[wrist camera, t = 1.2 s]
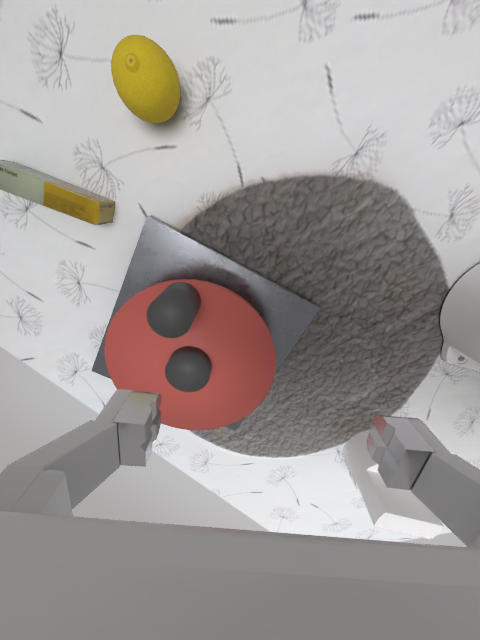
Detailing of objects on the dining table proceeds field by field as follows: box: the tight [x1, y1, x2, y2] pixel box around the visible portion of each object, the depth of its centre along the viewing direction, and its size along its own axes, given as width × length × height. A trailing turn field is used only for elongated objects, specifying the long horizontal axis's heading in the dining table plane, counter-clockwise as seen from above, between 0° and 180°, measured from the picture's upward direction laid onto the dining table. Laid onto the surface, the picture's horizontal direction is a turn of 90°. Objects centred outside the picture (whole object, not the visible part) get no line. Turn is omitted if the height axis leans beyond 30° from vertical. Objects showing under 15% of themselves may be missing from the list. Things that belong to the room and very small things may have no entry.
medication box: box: [0, 160, 115, 225], centre depth 29 cm, size 12×3×4 cm, turn 70°
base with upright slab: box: [343, 430, 443, 539], centre depth 40 cm, size 9×9×12 cm
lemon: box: [111, 35, 180, 123], centre depth 24 cm, size 6×6×8 cm
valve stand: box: [92, 216, 320, 431], centre depth 35 cm, size 24×24×6 cm
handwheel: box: [105, 279, 276, 430], centre depth 29 cm, size 20×20×6 cm
